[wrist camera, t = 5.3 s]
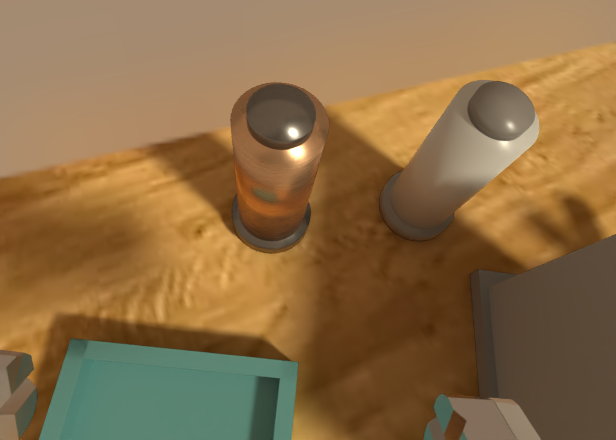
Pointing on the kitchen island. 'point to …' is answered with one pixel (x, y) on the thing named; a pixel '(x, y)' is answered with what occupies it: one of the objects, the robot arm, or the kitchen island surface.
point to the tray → (169, 395)
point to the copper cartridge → (275, 163)
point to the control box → (552, 342)
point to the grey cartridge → (459, 158)
